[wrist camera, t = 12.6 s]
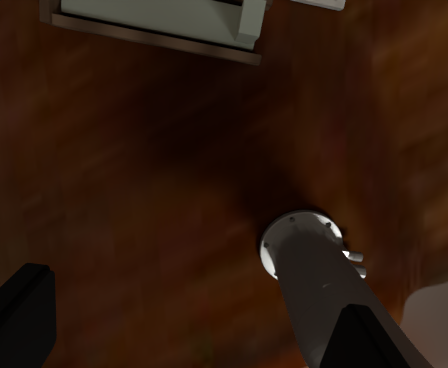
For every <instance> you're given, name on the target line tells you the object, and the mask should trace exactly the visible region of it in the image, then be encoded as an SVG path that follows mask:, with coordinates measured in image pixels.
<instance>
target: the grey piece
mask: <svg viewBox="0 0 448 368" xmlns="http://www.w3.org/2000/svg"><path fill="white" fill-rule="evenodd" d="M292 1H296V2H301V3H306V4H310V5H315V6H319V7H324V8H329V9H333V10H338V11H340V10H342V9H343V8H344V4H345V1H346V0H292Z"/></svg>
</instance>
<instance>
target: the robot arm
mask: <svg viewBox="0 0 448 368" xmlns="http://www.w3.org/2000/svg"><path fill="white" fill-rule="evenodd" d="M290 217H292V218H290ZM259 252H260V258H261V261H262V264H263V266H264V268H265V269H266V270H267V272H268V273H269V274H270V275H271V276H273V277H274V278H276V279H278V282H279V285H280V288H281V291H282V295H283V298H284V301H285V304H286V307H287V311H288V314H289V317H290V320H291V323H292V327H293V330H294V333H295V336H296V339H297V342H298V345H299V348H300V352H301V354H302V357H303V359H304V361H305V362H306V364H307V366H308V367H309V368H433V366H432V365H431V364H430V363H429V362H428V361H427V360H426V359H425V358H424V356H423V355H422V354H421V353H420V352H419V351H418V349H417V348H416V347H415V346H414V344H413V343H412V342H411V341H410V340H409V338H408V337H407V336H406V335H405V333H404V332H403V331H402V330H401V328H400V327H399V326H398V325H397V323H396V322H395V321H394V319H393V318H392V317H391V315H390V314H389V313H388V311H387V310H386V309H385V307H384V306H383V305H382V304H381V302H380V301H379V299H378V298H377V297H376V295H375V294H374V293H373V291H372V290H371V289H370V287H369V286H368V285H367V283H366V282H365V281H364V279H363V278H365V276H366V269H365V267H364V266H362V265H355V264H352V263H351V262H350V261H349V260H352V261H359V262H361V261H362V260H363V254H362V253H361V252H356V251H348V250H347V249H346V248H345V247H344V245H343V238H342V234H341V232H340V230H339V228H338V227H337V225H336V224H335V223H334V222H333V221H332V220H331V219H330V218H329V217H327V216H326V215H324V214H322V213H320V212H317V211H312V210H296V211H291V212H289V213H286V214H283V215H282V216H280V217H278V218H277V219H275V220H274V221H273V222H272V223H271V224H270V225H269V226H268V227H267V228H266V230H265V231H264V233H263V235H262V237H261V241H260V246H259ZM56 335H57V334H56V300H55V273H54V271H50V268H49V266H48V265H42V264H34V263H26V264H25V265H23V266H22V267H21V268H20V269H19V270H18V271H17V272H16V273H15V274H14V275H13V276H12V277H11V278H10V279H9V280H7V281H6V282H5V283H4V284H3V285H2V286H1V287H0V368H41V367H42V365H43V363H44V362H45V360H46V358H47V357H48V355H49V354H50V352H51V350H52V349H53V347H54V344H55V341H56Z"/></svg>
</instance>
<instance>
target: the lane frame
mask: <svg viewBox="0 0 448 368" xmlns="http://www.w3.org/2000/svg"><path fill="white" fill-rule="evenodd" d="M220 1H225V2H230V3H234V4H239V5H242V4H243V1H244V0H220ZM265 1H266V5H265V10H267V11H268V10H269V8H270V7H271V6H272V2H273V0H265ZM39 13H40V21H41V22H44V23H47V24H49V25H52V26H55V27H61V28H66V29H71V30H76V31H81V32H86V33H91V34H96V35H102V36H107V37H112V38H117V39H122V40H127V41H132V42H137V43H143V44H148V45H153V46H158V47H163V48H168V49H173V50H179V51H184V52H189V53H194V54H199V55H204V56H209V57H214V58H220V59H225V60H230V61H235V62H240V63H245V64H250V65H255V66H258V65H260V61H261V57H262V55H258V54H253V53H248V52H243V51H238V50H233V49H228V48H223V47H218V46H213V45H208V44H203V43H198V42H193V41H188V40H183V39H178V38H173V37H168V36H163V35H157V34H152V33H147V32H142V31H137V30H132V29H127V28H122V27H117V26H112V25H107V24H102V23H97V22H92V21H87V20H82V19H77V18H72V17H67V16H64V12H62V10H61V0H39Z"/></svg>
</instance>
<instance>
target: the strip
mask: <svg viewBox="0 0 448 368" xmlns="http://www.w3.org/2000/svg"><path fill="white" fill-rule="evenodd" d="M265 5H266V1H265V0H244V1H243V4H242V7H241V6H236V5H232V4H227V3H222V2H217V1H213V0H61V10H62V12H64V13H66V14H70V15H75V16H80V17H85V18H90V19H95V20H100V21H105V22H110V23H115V24H120V25H125V26H130V27H135V28H140V29H145V30H150V31H155V32H160V33H165V34H170V35H175V36H180V37H185V38H190V39H195V40H200V41H205V42H210V43H215V44H221V45H226V46H231V47H236V48H241V49H246V50H251V51H252V50H253V47H254V42H255V41H256V40H257V39H258V38H259V36H260V31H261V25H262V20H263V15H264V10H265Z"/></svg>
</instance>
